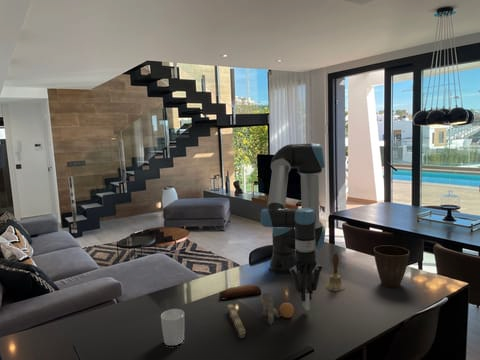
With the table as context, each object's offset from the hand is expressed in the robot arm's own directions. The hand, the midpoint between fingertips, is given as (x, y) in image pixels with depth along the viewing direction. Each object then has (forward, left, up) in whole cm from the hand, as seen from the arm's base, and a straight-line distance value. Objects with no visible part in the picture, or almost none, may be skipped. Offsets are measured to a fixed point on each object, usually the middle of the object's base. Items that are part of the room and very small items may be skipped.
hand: (306, 308), depth 140 cm
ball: (0, -8, +1) cm, 8 cm away
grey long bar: (0, -28, -2) cm, 28 cm away
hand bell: (-18, +22, -2) cm, 29 cm away
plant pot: (-13, +47, -2) cm, 49 cm away
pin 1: (-3, -16, -2) cm, 16 cm away
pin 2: (+3, -16, -2) cm, 16 cm away
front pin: (0, -11, -1) cm, 11 cm away
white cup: (+5, -51, -2) cm, 51 cm away
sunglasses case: (-25, -21, -3) cm, 33 cm away
